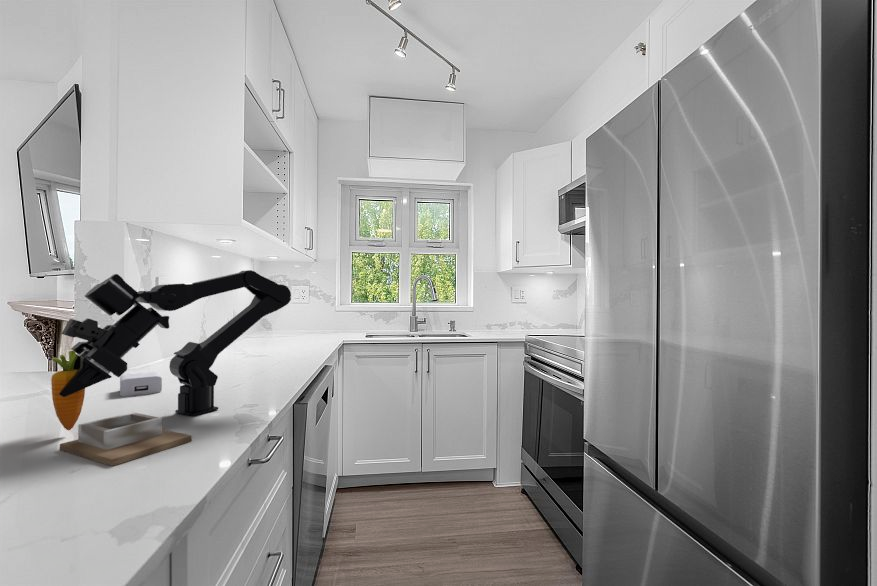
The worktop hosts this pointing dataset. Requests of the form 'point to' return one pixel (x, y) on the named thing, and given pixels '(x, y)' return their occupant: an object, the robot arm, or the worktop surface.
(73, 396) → the carrot
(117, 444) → the holder
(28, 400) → the worktop surface
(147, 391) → the charger
